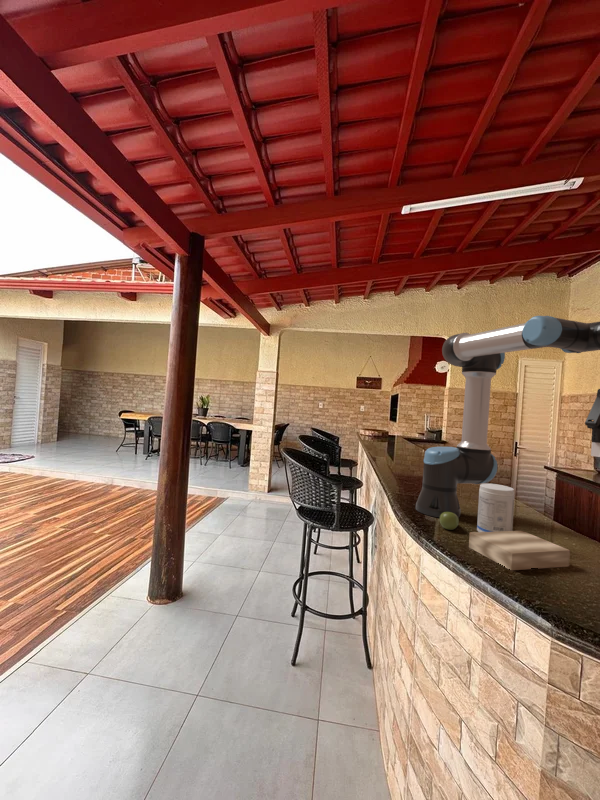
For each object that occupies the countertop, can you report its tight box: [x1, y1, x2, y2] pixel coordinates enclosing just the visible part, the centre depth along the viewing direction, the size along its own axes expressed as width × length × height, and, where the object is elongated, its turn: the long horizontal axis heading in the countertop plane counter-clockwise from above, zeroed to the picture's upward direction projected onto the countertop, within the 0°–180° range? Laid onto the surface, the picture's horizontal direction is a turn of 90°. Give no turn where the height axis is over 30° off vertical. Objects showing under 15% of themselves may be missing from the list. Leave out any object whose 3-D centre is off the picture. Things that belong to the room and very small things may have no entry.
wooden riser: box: [468, 530, 571, 571], centre depth 97 cm, size 14×18×4 cm
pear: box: [439, 512, 460, 531], centre depth 119 cm, size 6×5×10 cm
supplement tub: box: [476, 482, 515, 532], centre depth 114 cm, size 10×10×15 cm
